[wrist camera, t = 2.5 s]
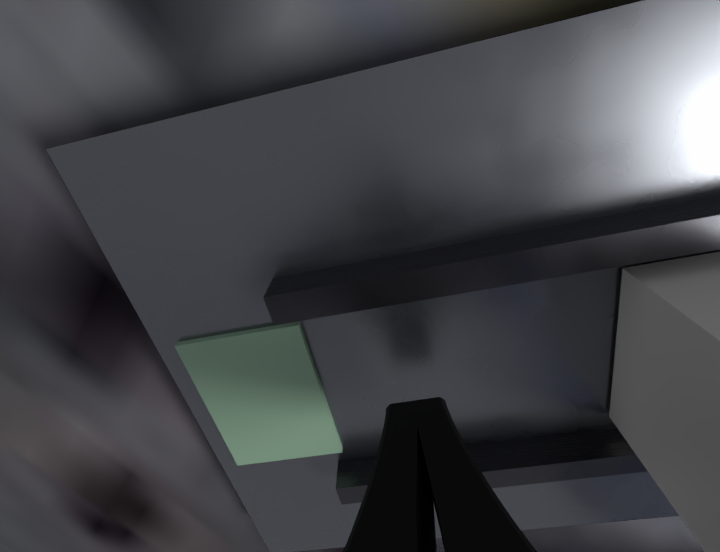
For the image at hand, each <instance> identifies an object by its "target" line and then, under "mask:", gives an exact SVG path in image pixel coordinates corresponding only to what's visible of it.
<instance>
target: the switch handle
mask: <svg viewBox="0 0 720 552" xmlns="http://www.w3.org/2000/svg"><path fill="white" fill-rule="evenodd" d="M609 417H610V418H611V420H612V421H613V423H614V424H615V425H616V427H617V428H618V430H619V431H620V432H621V434H622V435H623V437H624V438H625V440H626V441H627V442H628V444H629V445H630V447H631V448H632V450H633V451H634V452H635V454H636V455H637V457H638V458H639V459H640V461H641V462H642V464H643V465H644V467H645V468H646V469H647V471H648V472H649V474H650V475H651V476H652V478H653V479H654V481H655V482H656V484H657V485H658V486H659V488H660V489H661V491H662V492H663V493H664V495H665V496H666V498H667V499H668V501H669V502H670V503H671V505H672V506H673V508H674V509H675V511H676V512H677V513H678V515H679V516H680V518H681V519H682V520H683V522H684V523H685V525H686V526H687V528H688V529H689V530H690V532H691V533H692V535H693V536H694V537H695V539H696V540H697V542H698V543H699V545H700V546H701V547H702V549H703V550H704V552H720V252H715V253H709V254H703V255H697V256H691V257H685V258H680V259H674V260H668V261H662V262H656V263H650V264H644V265H638V266H633V267H627V268H623V269H622V280H621V291H620V302H619V313H618V324H617V335H616V346H615V357H614V368H613V379H612V390H611V401H610V412H609Z"/></svg>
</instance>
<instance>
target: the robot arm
mask: <svg viewBox="0 0 720 552" xmlns="http://www.w3.org/2000/svg"><path fill="white" fill-rule="evenodd" d="M434 506H435V510H436V515H437V519H438V523H439V527H440V532H441V536H442V540H443V545H444V549H445V552H537V551H536V550H535V549H534V547H533V546H532V545H531V543H530V542H529V541H528V539H527V538H526V537H525V535H524V534H523V533H522V531H521V530H520V528H519V527H518V526H517V524H516V523H515V522H514V520H513V519H512V517H511V516H510V514H509V513H508V511H507V510H506V509H505V507H504V506H503V504H502V503H501V501H500V500H499V498H498V497H497V495H496V494H495V492H494V491H493V489H492V488H491V486H490V485H489V483H488V482H487V480H486V478H485V477H484V475H483V474H482V472H481V470H480V469H479V467H478V465H477V464H476V462H475V461H474V459H473V457H472V456H471V454H470V452H469V450H468V449H467V447H466V445H465V443H464V441H463V439H462V438H461V436H460V434H459V432H458V430H457V428H456V426H455V424H454V422H453V419H452V417H451V415H450V412H449V410H448V407H447V404H446V401H445V400H444V399H443V398H441V397H435V398H428V399H421V400H414V401H407V402H400V403H392V404H389V406H388V407H387V408H386V415H385V421H384V427H383V431H382V436H381V440H380V444H379V448H378V452H377V456H376V459H375V463H374V466H373V469H372V472H371V476H370V479H369V482H368V486H367V489H366V492H365V495H364V498H363V500H362V503H361V506H360V509H359V511H358V514H357V517H356V520H355V522H354V525H353V528H352V531H351V533H350V536H349V538H348V541H347V543H346V545H345V548H344V550H343V552H437V547H436V532H435V517H434Z"/></svg>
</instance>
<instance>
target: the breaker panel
mask: <svg viewBox="0 0 720 552" xmlns="http://www.w3.org/2000/svg"><path fill="white" fill-rule="evenodd" d="M46 151H47V152H48V154H49V156H50V158H51V160H52V161H53V163H54V165H55V167H56V169H57V170H58V172H59V174H60V176H61V178H62V179H63V181H64V183H65V185H66V186H67V188H68V190H69V192H70V194H71V195H72V197H73V199H74V201H75V203H76V204H77V206H78V208H79V210H80V212H81V213H82V215H83V217H84V219H85V221H86V222H87V224H88V226H89V228H90V230H91V231H92V233H93V235H94V237H95V239H96V240H97V242H98V244H99V246H100V248H101V249H102V251H103V253H104V255H105V257H106V258H107V260H108V262H109V264H110V266H111V267H112V269H113V271H114V273H115V275H116V276H117V278H118V280H119V282H120V284H121V285H122V287H123V289H124V291H125V293H126V294H127V296H128V298H129V300H130V302H131V303H132V305H133V307H134V309H135V311H136V312H137V314H138V316H139V318H140V320H141V321H142V323H143V325H144V327H145V329H146V330H147V332H148V334H149V336H150V338H151V339H152V341H153V343H154V345H155V347H156V348H157V350H158V352H159V354H160V356H161V357H162V359H163V361H164V363H165V365H166V366H167V368H168V370H169V372H170V373H171V375H172V377H173V379H174V381H175V382H176V384H177V386H178V388H179V390H180V391H181V393H182V395H183V397H184V399H185V400H186V402H187V404H188V406H189V408H190V409H191V411H192V413H193V415H194V417H195V418H196V420H197V422H198V424H199V426H200V427H201V429H202V431H203V433H204V435H205V436H206V438H207V440H208V442H209V444H210V445H211V447H212V449H213V451H214V453H215V454H216V456H217V458H218V460H219V462H220V463H221V465H222V467H223V469H224V471H225V472H226V474H227V476H228V478H229V480H230V481H231V483H232V485H233V487H234V489H235V490H236V492H237V494H238V496H239V498H240V499H241V501H242V503H243V505H244V507H245V508H246V510H247V512H248V514H249V516H250V517H251V519H252V521H253V523H254V525H255V526H256V528H257V530H258V532H259V534H260V535H261V537H262V539H263V541H264V543H265V544H266V546H267V548H268V550H269V551H270V552H297V551H307V550H318V549H329V548H339V547H345V545H346V543H347V541H348V538H349V536H350V533H351V531H352V528H353V525H354V522H355V520H356V517H357V514H358V511H359V509H360V506H361V503H362V500H363V498H364V495H365V492H366V489H367V486H368V482H369V479H370V476H371V472H372V469H373V466H374V463H375V459H376V456H377V452H378V448H379V444H380V440H381V436H382V431H383V427H384V421H385V415H386V408H387V407H388V406H389V404H392V403H400V402H407V401H414V400H421V399H428V398H435V397H441V398H443V399H444V400H445V401H446V404H447V407H448V410H449V412H450V415H451V417H452V419H453V422H454V424H455V426H456V428H457V430H458V432H459V434H460V436H461V438H462V439H463V441H464V443H465V445H466V447H467V449H468V450H469V452H470V454H471V456H472V457H473V459H474V461H475V462H476V464H477V465H478V467H479V469H480V470H481V472H482V474H483V475H484V477H485V478H486V480H487V482H488V483H489V485H490V486H491V488H492V489H493V491H494V492H495V494H496V495H497V497H498V498H499V500H500V501H501V503H502V504H503V506H504V507H505V509H506V510H507V511H508V513H509V514H510V516H511V517H512V519H513V520H514V522H515V523H516V524H517V526H518V527H519V528H520V530H531V529H541V528H552V527H563V526H573V525H584V524H595V523H605V522H616V521H627V520H637V519H648V518H658V517H669V516H679V515H678V513H677V512H676V511H675V509H674V508H673V506H672V505H671V503H670V502H669V501H668V499H667V498H666V496H665V495H664V493H663V492H662V491H661V489H660V488H659V486H658V485H657V484H656V482H655V481H654V479H653V478H652V476H651V475H650V474H649V472H648V471H647V469H646V468H645V467H644V465H643V464H642V462H641V461H640V459H639V458H638V457H637V455H636V454H635V452H634V451H633V450H632V448H631V447H630V445H629V444H628V442H627V441H626V440H625V438H624V437H623V435H622V434H621V432H620V431H619V430H618V428H617V427H616V425H615V424H614V423H613V421H612V420H611V418H610V417H609V412H610V401H611V390H612V379H613V368H614V357H615V346H616V335H617V324H618V313H619V302H620V291H621V280H622V269H623V268H627V267H633V266H638V265H644V264H650V263H656V262H662V261H668V260H674V259H680V258H685V257H691V256H697V255H703V254H709V253H715V252H720V0H643V1H639V2H635V3H631V4H627V5H623V6H619V7H615V8H611V9H607V10H603V11H599V12H595V13H591V14H587V15H583V16H579V17H575V18H571V19H567V20H562V21H558V22H554V23H550V24H546V25H542V26H538V27H534V28H530V29H526V30H522V31H518V32H514V33H510V34H506V35H502V36H498V37H494V38H490V39H486V40H482V41H478V42H474V43H470V44H466V45H462V46H458V47H454V48H450V49H446V50H442V51H438V52H434V53H430V54H426V55H422V56H418V57H414V58H410V59H406V60H402V61H398V62H394V63H390V64H386V65H382V66H378V67H374V68H370V69H366V70H362V71H358V72H354V73H350V74H346V75H342V76H338V77H334V78H330V79H326V80H322V81H317V82H313V83H309V84H305V85H301V86H297V87H293V88H289V89H285V90H281V91H277V92H273V93H269V94H265V95H261V96H257V97H253V98H249V99H245V100H241V101H237V102H233V103H229V104H225V105H221V106H217V107H213V108H209V109H205V110H201V111H197V112H193V113H189V114H185V115H181V116H177V117H173V118H169V119H165V120H161V121H157V122H153V123H149V124H145V125H141V126H137V127H133V128H129V129H125V130H121V131H117V132H113V133H109V134H105V135H101V136H97V137H93V138H89V139H85V140H81V141H77V142H73V143H68V144H64V145H60V146H56V147H52V148H48V149H46ZM434 517H435V532H436V538H442V536H441V532H440V527H439V523H438V519H437V515H436V510H435V506H434Z"/></svg>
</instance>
